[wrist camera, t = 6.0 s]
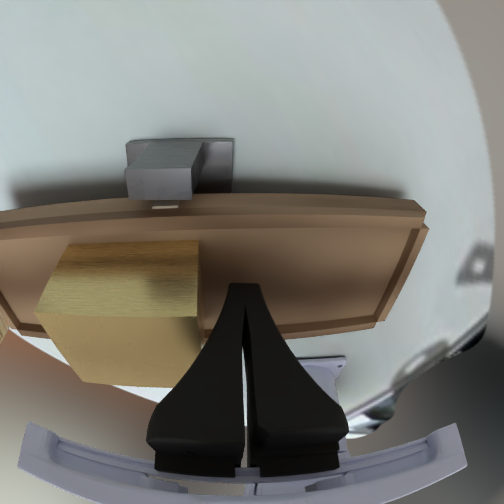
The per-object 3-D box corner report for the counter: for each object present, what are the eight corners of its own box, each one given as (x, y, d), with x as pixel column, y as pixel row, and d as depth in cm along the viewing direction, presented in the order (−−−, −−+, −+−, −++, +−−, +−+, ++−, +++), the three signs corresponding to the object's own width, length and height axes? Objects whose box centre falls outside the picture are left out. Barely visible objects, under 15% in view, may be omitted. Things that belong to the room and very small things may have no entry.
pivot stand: (229, 311, 19) (227, 360, 16) (158, 307, 19) (147, 355, 16) (233, 138, 12) (229, 168, 9) (129, 140, 12) (93, 172, 9)
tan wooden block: (204, 318, 15) (207, 387, 11) (98, 318, 14) (82, 381, 11) (198, 239, 12) (196, 316, 8) (68, 244, 11) (33, 312, 8)
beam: (370, 307, 18) (380, 327, 17) (24, 315, 15) (16, 335, 13) (414, 198, 13) (433, 216, 12) (-26, 214, 10) (-42, 232, 8)
